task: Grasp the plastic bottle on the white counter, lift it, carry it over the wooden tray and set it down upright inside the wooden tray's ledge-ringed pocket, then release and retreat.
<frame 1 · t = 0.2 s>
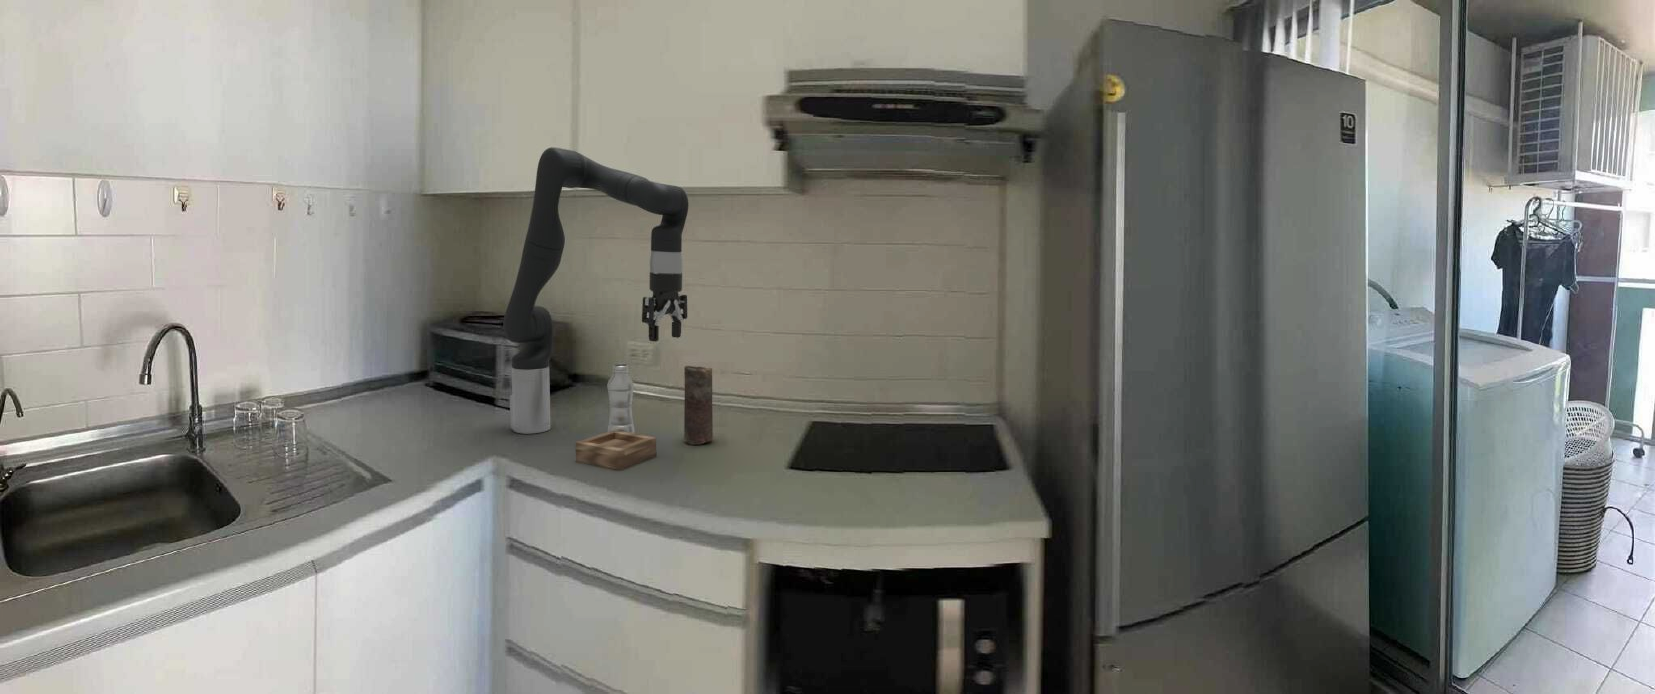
hand: (665, 339, 167), 28 cm above the worktop, fingers open, 8 cm apart
candle: (698, 442, 183), on the worktop
plastic bottle: (621, 441, 181), on the worktop
wooden tray: (616, 458, 167), on the worktop
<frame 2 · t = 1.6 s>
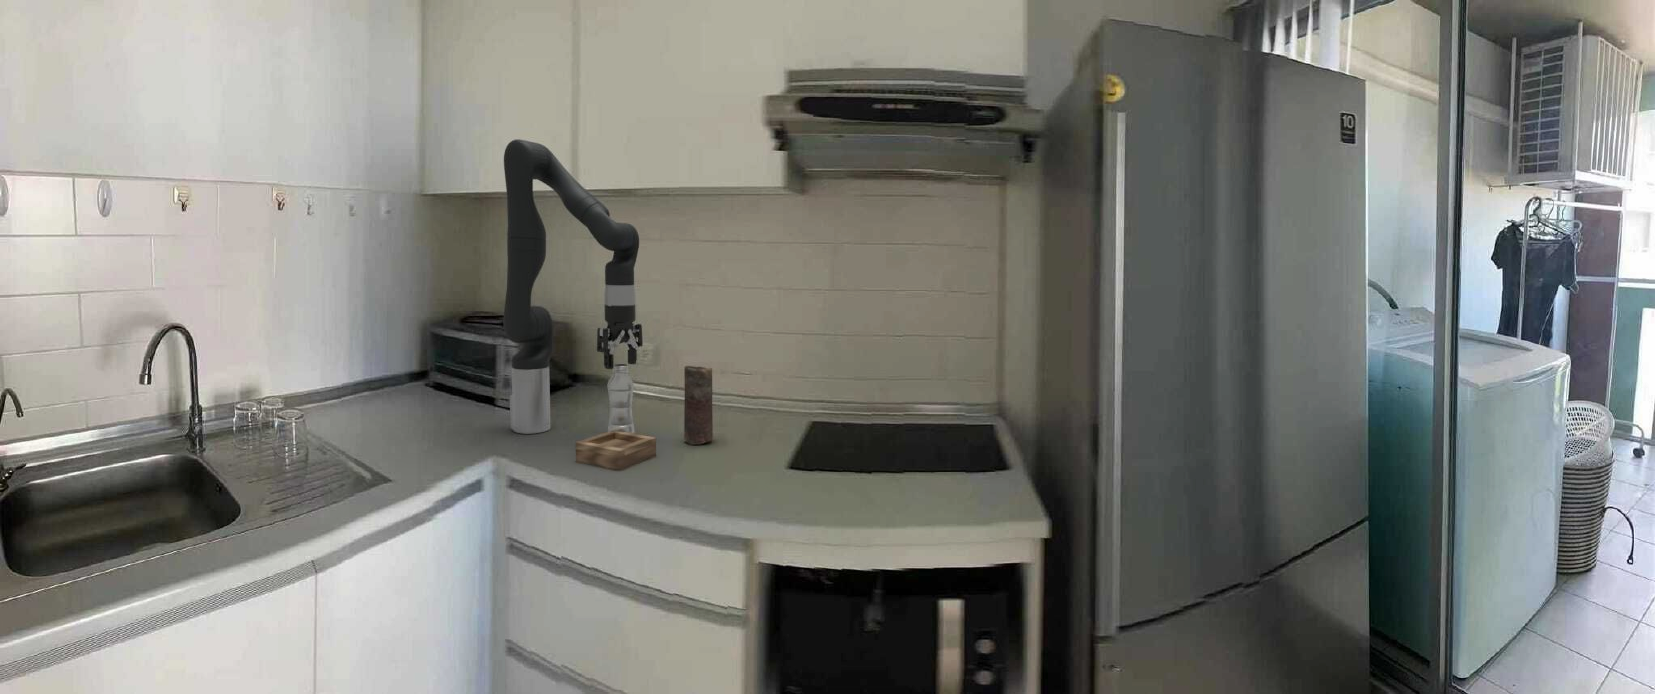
hand: (620, 366, 178), 20 cm above the worktop, fingers open, 8 cm apart
nothing on the worktop moved.
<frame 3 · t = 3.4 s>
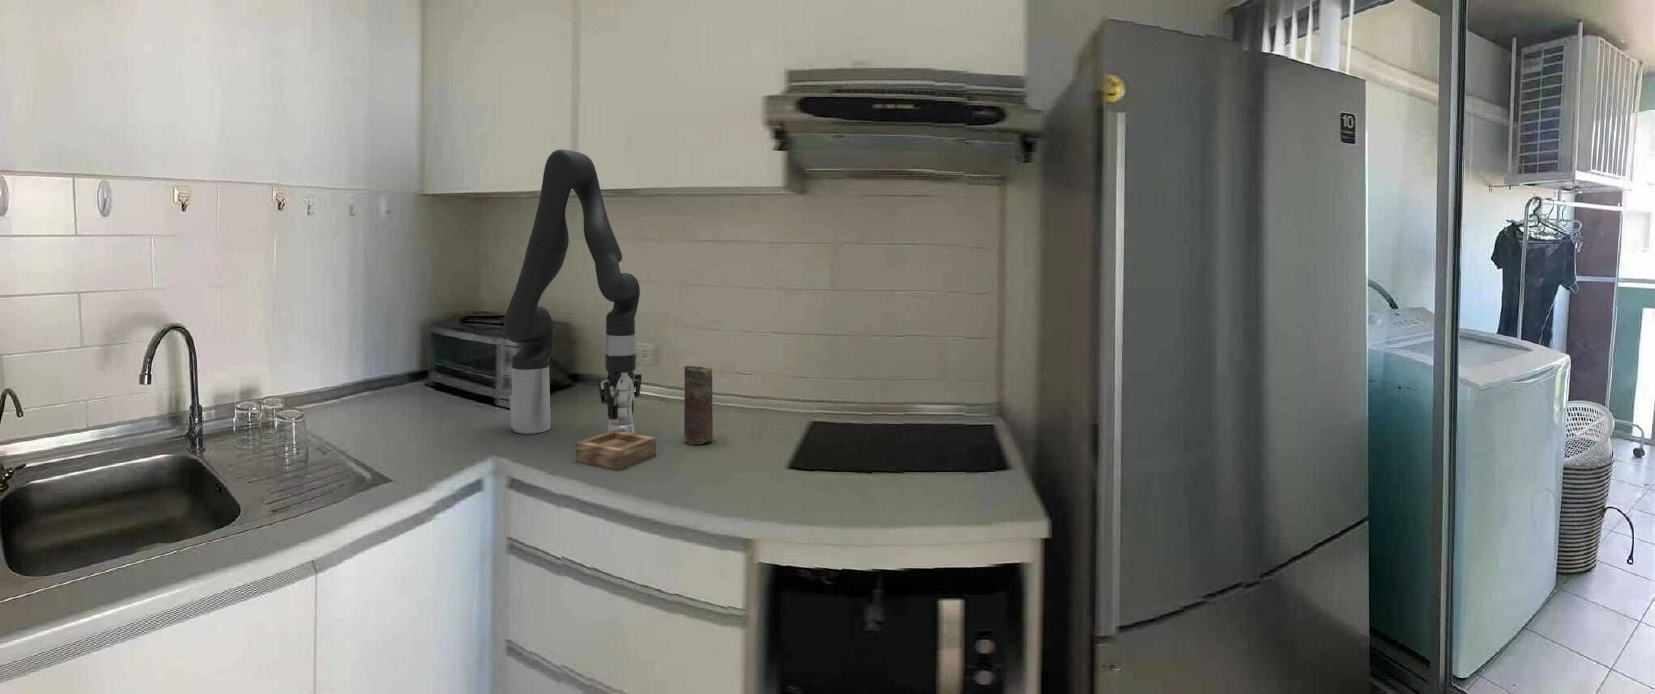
hand: (620, 416, 180), 6 cm above the worktop, fingers closed on plastic bottle, 5 cm apart
plastic bottle: (621, 441, 181), on the worktop, touching gripper
everything else where it was.
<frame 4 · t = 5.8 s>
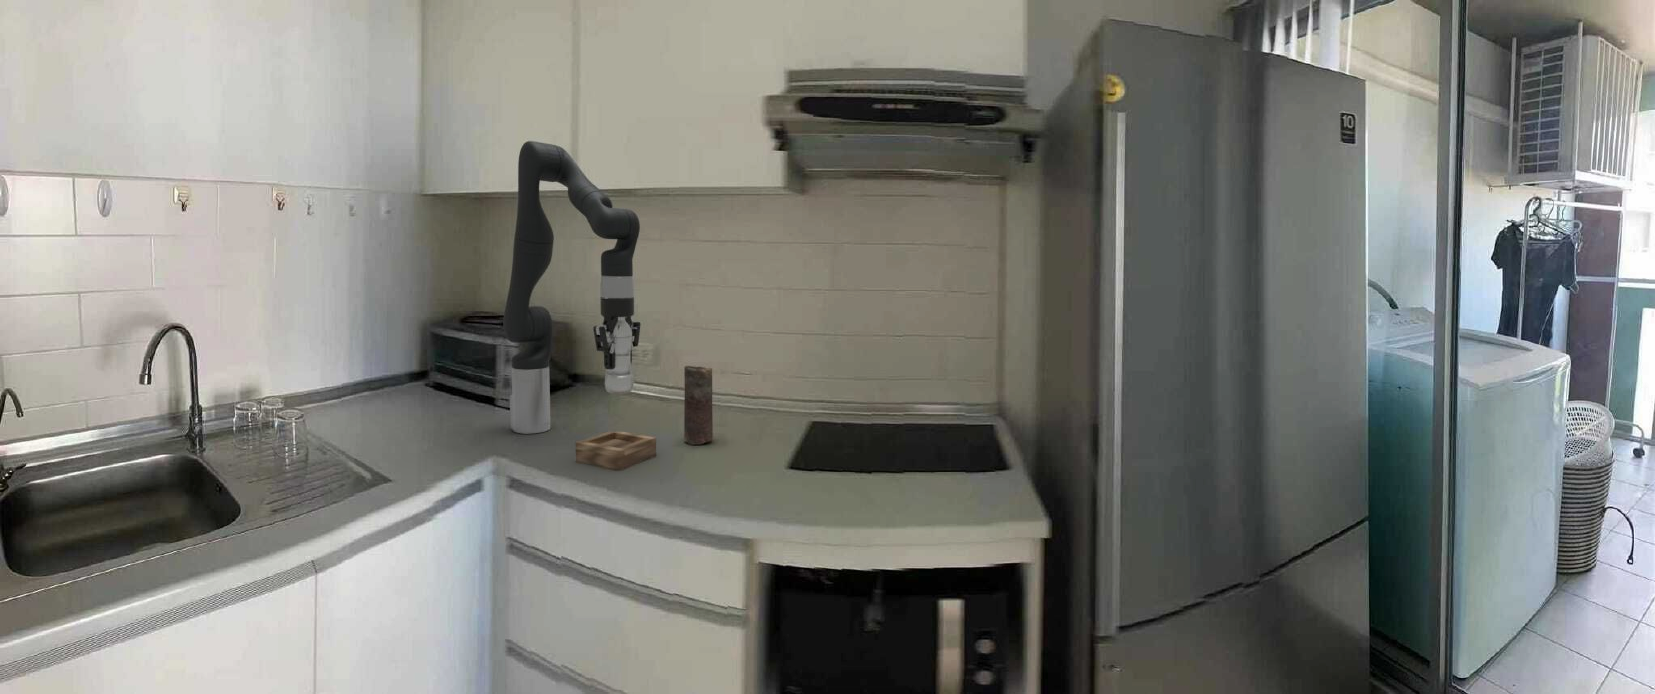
hand: (618, 367, 165), 22 cm above the worktop, fingers closed on plastic bottle, 5 cm apart
plastic bottle: (619, 394, 166), point 15 cm above the worktop, touching gripper
everything else where it was.
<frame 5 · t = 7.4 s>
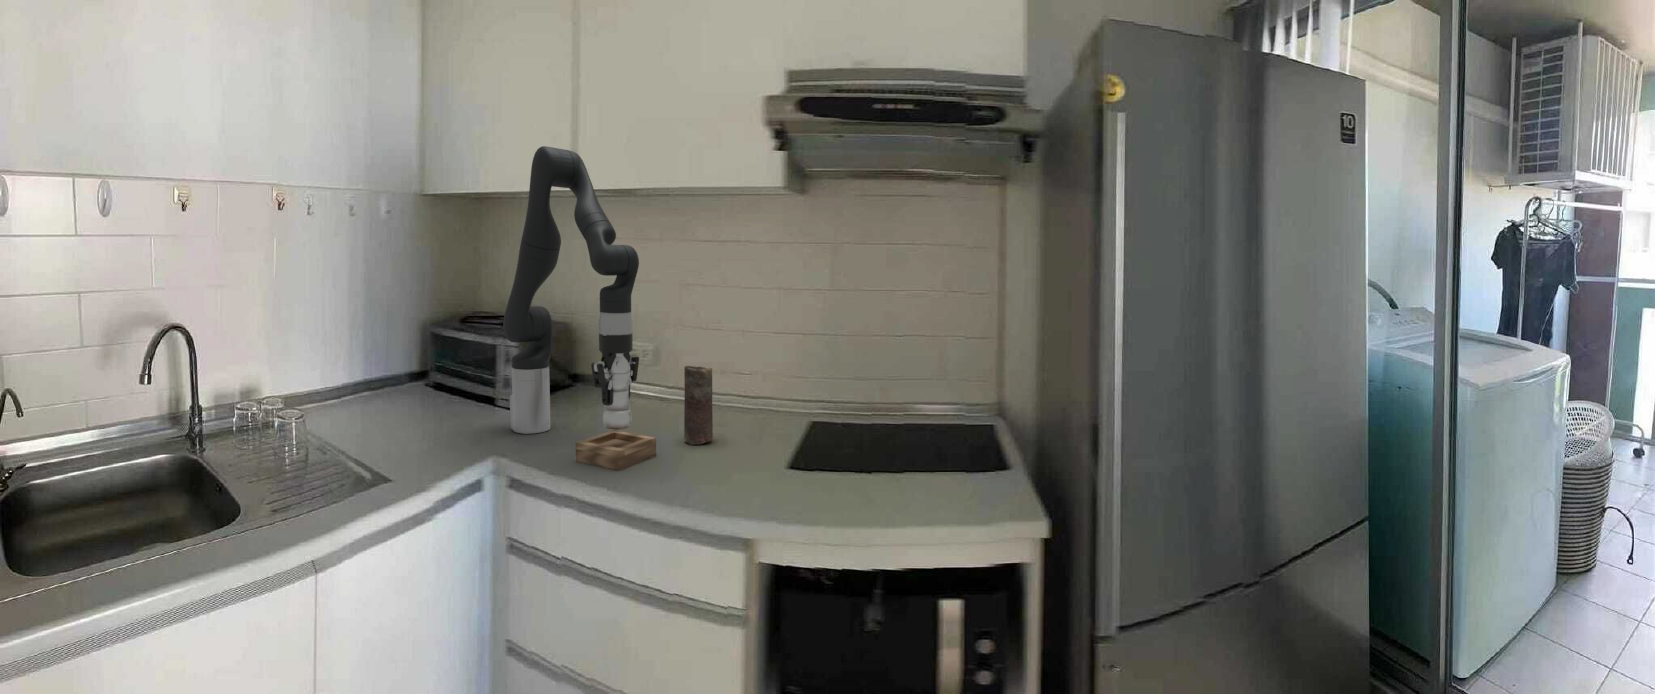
hand: (616, 402, 165), 14 cm above the worktop, fingers closed on plastic bottle, 5 cm apart
plastic bottle: (617, 429, 166), point 7 cm above the worktop, touching gripper
everything else where it was.
when the fingers open (10 cm above the worktop, at t = 8.6 s): plastic bottle stays where it is, resting on wooden tray.
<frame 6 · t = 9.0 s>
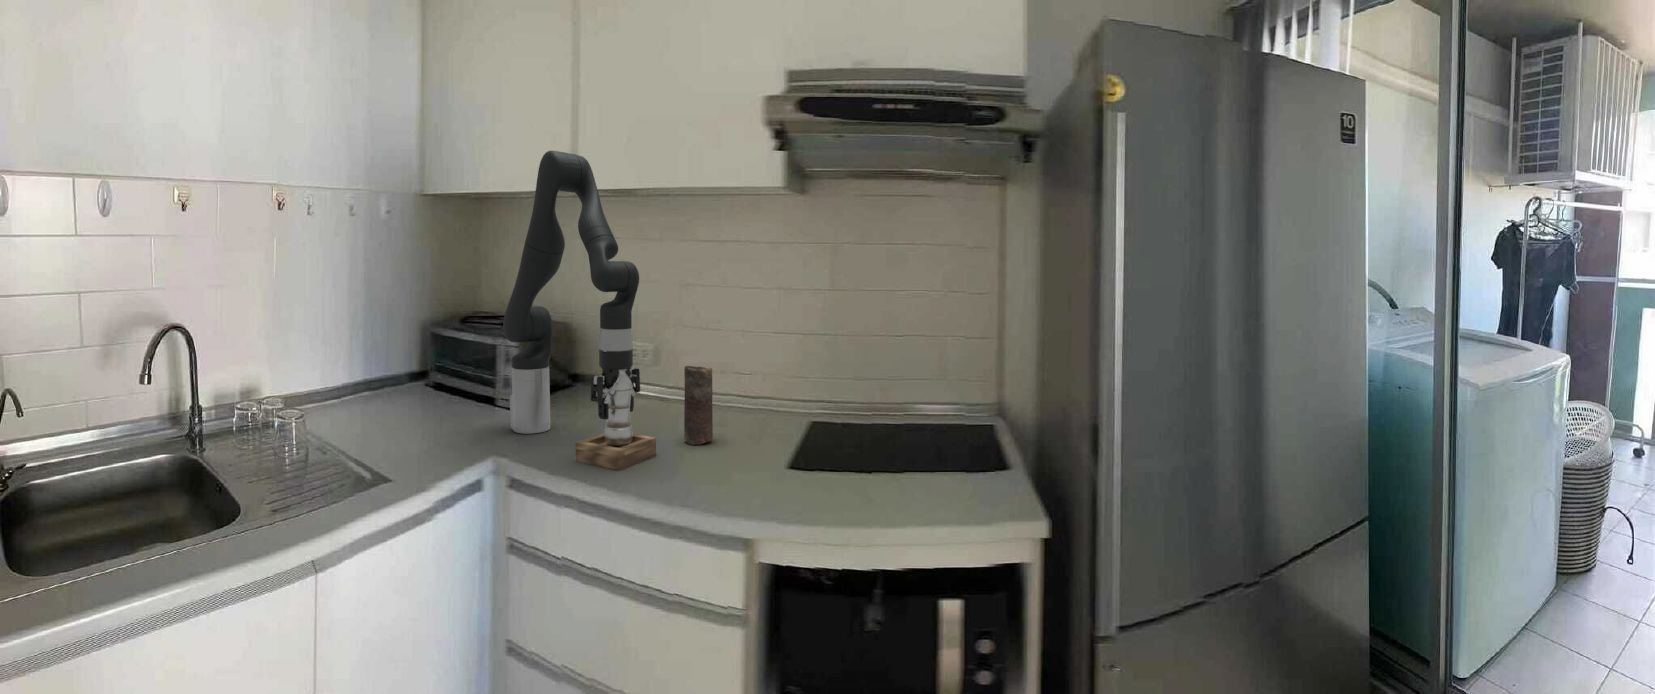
hand: (616, 415, 165), 11 cm above the worktop, fingers open, 8 cm apart
plastic bottle: (618, 446, 167), point 3 cm above the worktop, touching wooden tray
everything else where it was.
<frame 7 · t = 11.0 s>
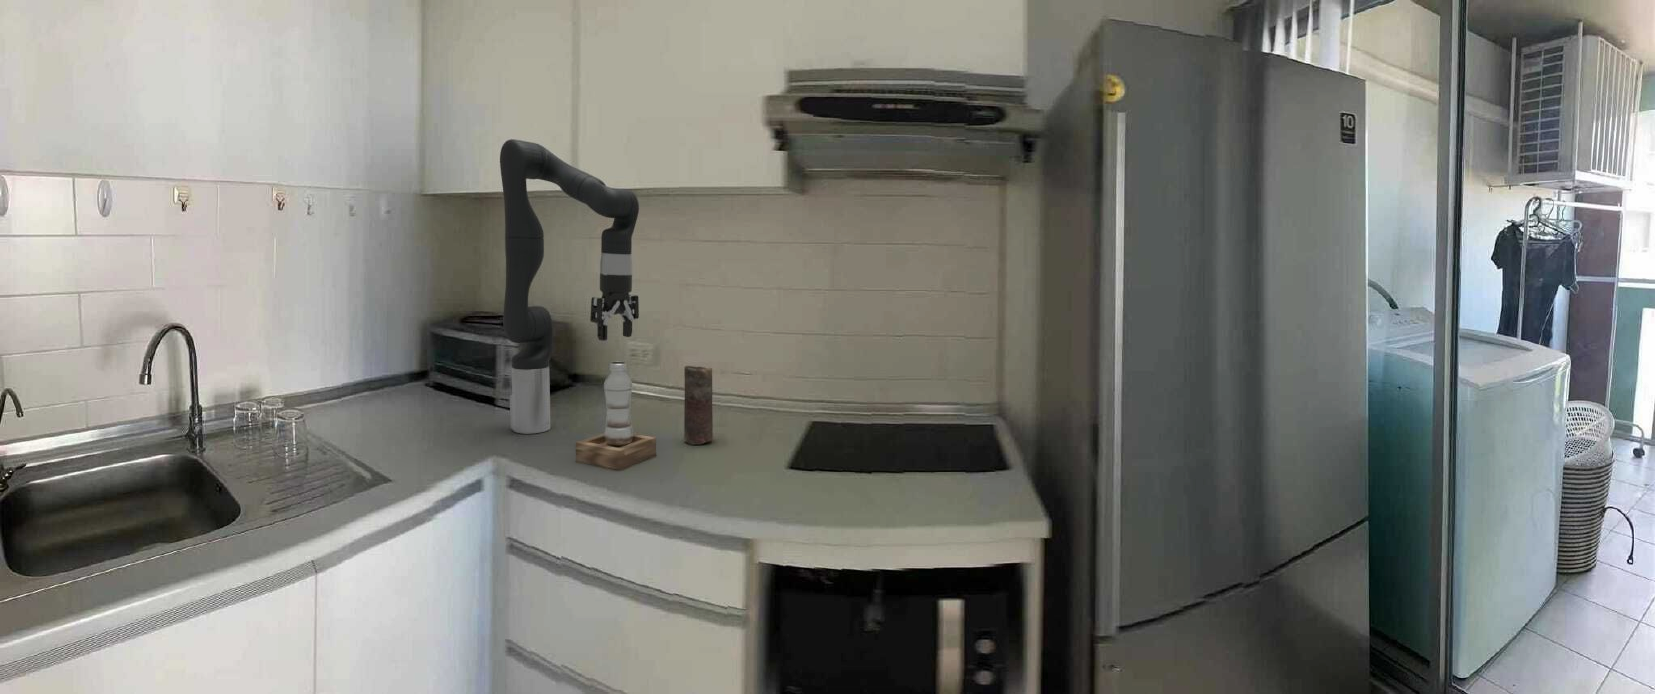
hand: (615, 338, 172), 28 cm above the worktop, fingers open, 8 cm apart
nothing on the worktop moved.
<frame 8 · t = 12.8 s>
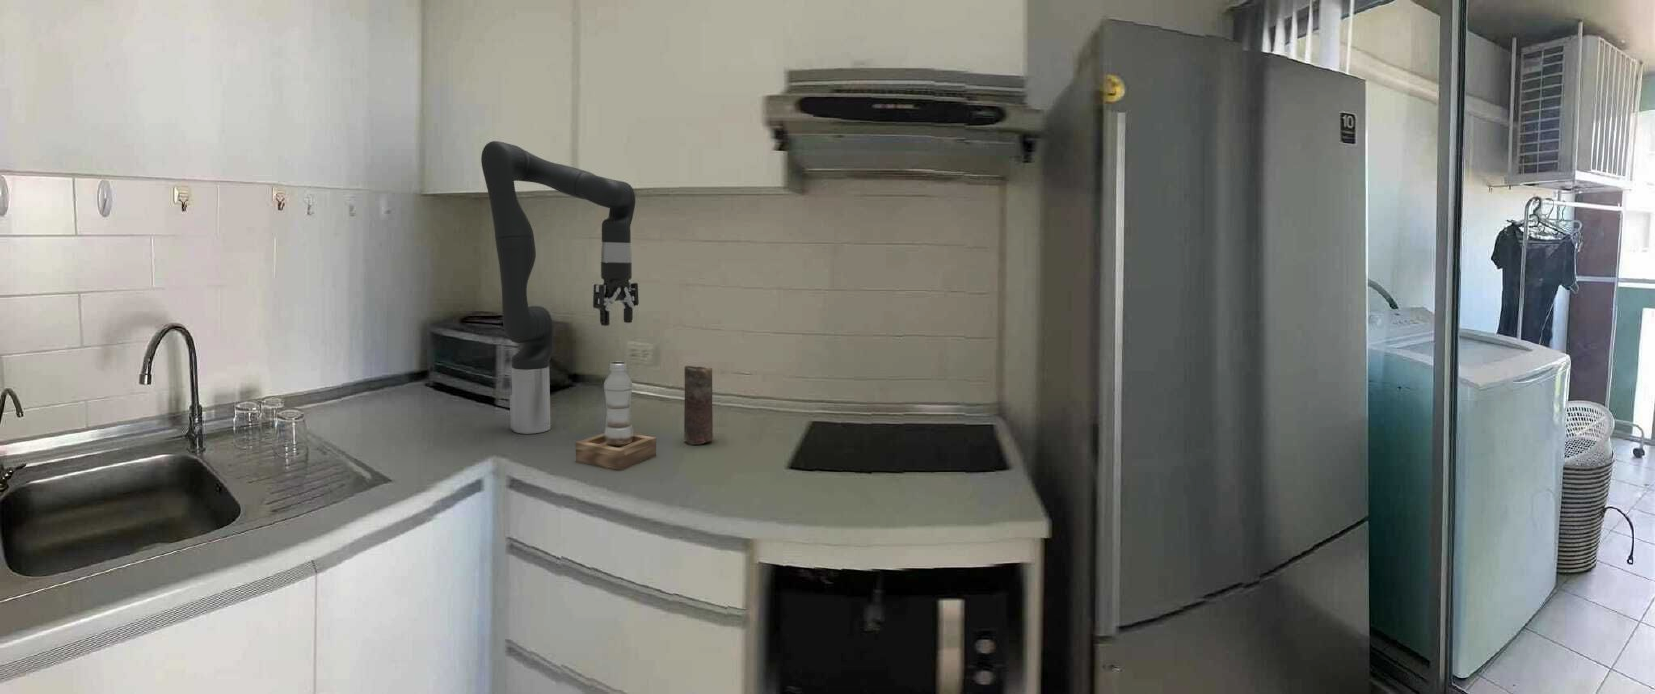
hand: (616, 324, 180), 30 cm above the worktop, fingers open, 8 cm apart
nothing on the worktop moved.
at the end: plastic bottle 0.9 cm off-centre on the wooden tray, point 2.8 cm above the wooden tray's base; plastic bottle tilted 0°; the gripper is holding nothing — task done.
